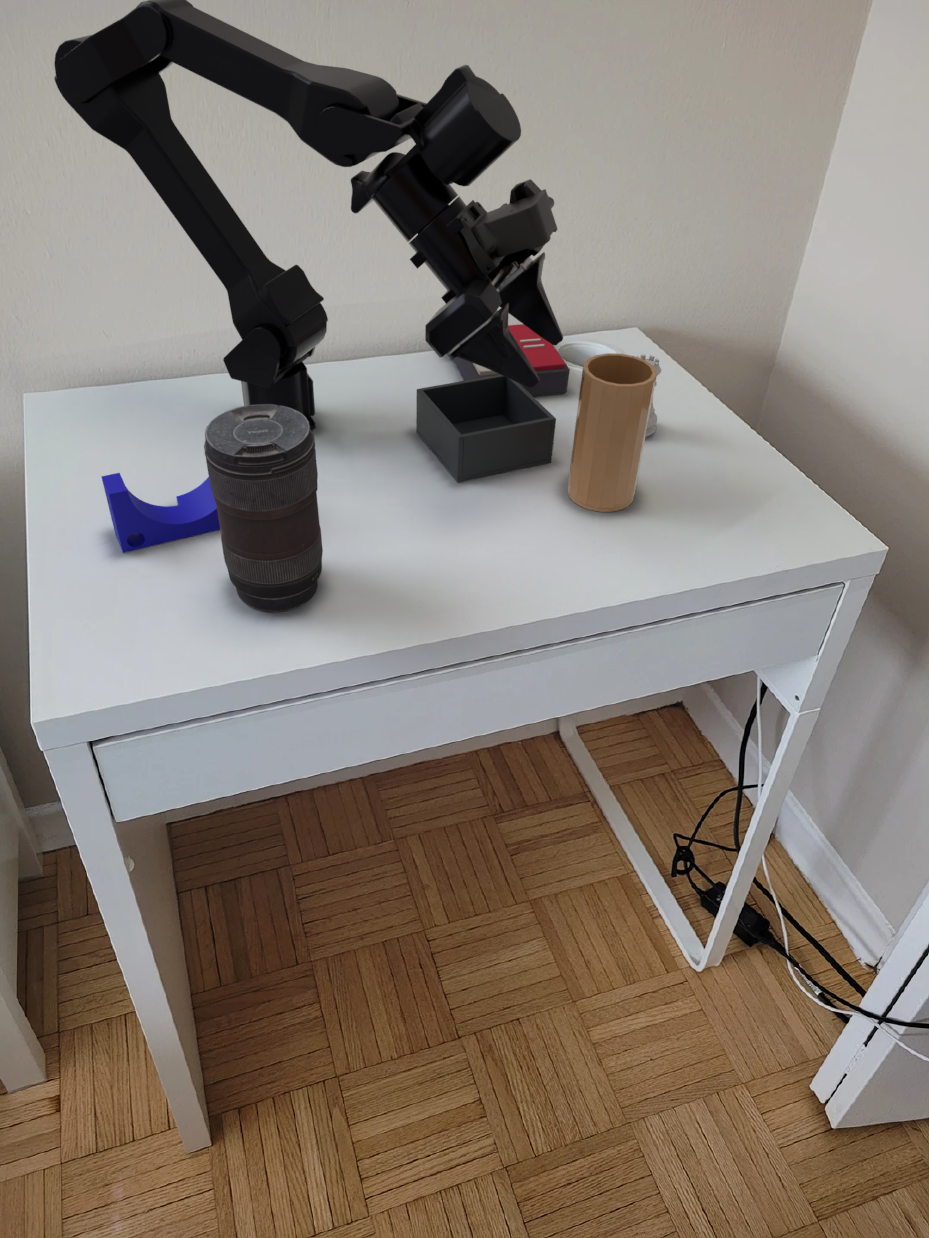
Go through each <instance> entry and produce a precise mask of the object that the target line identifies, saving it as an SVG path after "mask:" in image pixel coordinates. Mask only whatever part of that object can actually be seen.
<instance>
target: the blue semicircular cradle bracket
mask: <svg viewBox="0 0 929 1238" xmlns="http://www.w3.org/2000/svg"><path fill="white" fill-rule="evenodd" d="M101 482H102V485H103V489H104V494H105V497H106V502H107V507H108V510H109V514H110V518H111V522H112V526H113V530H114V534H115V536H116V539H117V542H118V544H119V547H120V550H121V551H122V554H125V553H129V552H133V551H137V550H141V549H146V548H150V547H153V546H157V545H162V544H166V543H171V542H174V541H178V540H182V539H187V538H192V537H195V536H201V535H203V534H206V533H212V532H215V531H220V525H219V519H218V512H217V506H216V502H215V499H214V496H213V493H212V490H211V486H210V480H209V476H208V477H207V478H206V479H205V480H204V481H203V482H202V483H200V485H198V486H197V487H195V488H194V489H192V490H190V491H188V492H186V493H183V494H180V495H176V496H175V498H176V504H177V505H168V506H166V505H156V504H153V503H150V502H146V501H144V500H142V499H140V498H138V497H137V496H135V495H134V494H133V493H132V492H131V491H130V490H129V488H128V487H127V486H126V484H125V482H124V479H123V476H122V475H121V473H120V472H116V473H111V474H107V475H102V476H101Z"/></svg>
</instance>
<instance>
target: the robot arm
mask: <svg viewBox="0 0 929 1238" xmlns="http://www.w3.org/2000/svg"><path fill="white" fill-rule="evenodd" d="M173 64H175V65H177V66H179V67H181V68H183V69H185V70H188V71H189V72H191V73H193V74H195V75H197V76H199V77H201V78H204V79H205V80H207V81H209V82H212V83H214V84H216V85H217V86H219V87H221V88H223V89H226V90H227V91H229V92H231V93H234V94H236V95H237V96H240V97H242V98H244V99H246V100H248V101H249V102H252V103H253V104H256V105H257V106H260V107H262V108H264V109H265V110H268V111H270V112H272V113H274V114H275V115H277V116H278V117H280V118H281V119H282V120H284V121H285V122H287V123H288V125H289V126H290V127H291V129H292V130H293V131H294V133H295V134H296V136H297V137H298V138H299V140H300V141H301V142H303V143H304V144H305V145H307V146H308V147H309V148H310V149H312V150H313V151H315V152H316V153H318V154H319V155H321V156H322V157H323V158H325V160H327V161H329V162H331V163H332V164H333V165H335V166H338V167H342V168H352V167H354V166H355V167H356V166H358V165H359V164H361V163H363V162H365V161H367V160H369V159H370V158H372V157H374V156H376V155H378V154H380V153H386V152H388V151H390V150H392V149H394V148H396V147H397V146H399V145H401V144H403V143H405V142H407V141H409V140H410V139H411V140H413V143H414V145H413V146H412V147H411V148H410V149H409V150H408V152H406V154H404V153H402V152H397V151H393V152H389V153H388V154H387V155H386V156H385V157H384V158H383V159H382V160H381V161H380V162H379V163H378V164H377V165H376V166H375V167H374V168H373V170H371V171H366V170H360V171H358V173H356V174H355V175H354V176H352V177H351V178H350V185H351V199H350V211H351V212H352V213H353V214H359V213H360V212H361V211H363V210H364V208H366V207H367V206H368V205H370V204H371V203H372V202H374V203H375V204H376V206H377V207H378V208H379V209H380V211H382V213H383V214H384V215H385V216H386V218H387V219H388V220H389V222H391V224H392V226H394V227H395V229H396V230H397V231H398V233H400V235H401V236H402V237H403V238H404V240H405V241H406V242H407V243H408V245H409V246H410V247H411V248H412V250H413V251H414V252H415V254H414V255H412V256H411V258H409V260H410V262H411V263H412V264H413V265H414V267H415V268H416V270H418V269H419V268H420V267H421V266H422V265H423V264H425V265H426V266H427V268H428V269H429V270H430V271H431V273H432V274H433V275H434V277H435V278H436V279H437V280H438V282H440V284H441V286H443V287H444V289H445V290H446V291H445V293H444V294H443V295H442V296H441V297H440V298H441V300H442V301H443V302H444V303H445V304H444V305H442V307H440V308H439V309H438V310H437V311H436V313H435V314H434V315H433V316H432V317H431V318H430V320H429V321H428V322H427V323H426V324H425V325H424V326H425V329H424V330H425V333H424V334H425V337H424V340H425V342H426V343H427V344H428V345H429V347H430V348H431V349H432V350H433V352H434V353H435V354H436V355H437V356H438V357H439V358H443V357H445V355H446V354H447V353H448V352H449V351H450V350H451V349H453V350H452V351H451V352H450V354H449V356H450V357H451V358H450V357H449V356H448V357H449V358H450V359H452V360H453V359H454V358H456V357H459V358H461V359H464V360H467V361H469V362H472V363H474V364H477V365H480V366H482V367H485V368H487V369H489V370H492V371H494V372H496V373H498V374H501V375H503V376H505V377H507V378H509V379H511V380H514V381H516V382H518V383H520V384H522V385H524V386H527V387H529V388H532V387H533V386H535V385H536V384H538V382H539V377H538V375H537V374H536V372H535V370H534V368H533V367H532V365H531V363H530V362H529V360H528V359H527V357H526V355H525V354H524V352H523V351H522V349H521V348H520V346H519V344H518V343H517V341H516V340H515V338H514V337H513V335H512V333H511V332H510V330H509V328H508V314H510V315H512V316H513V317H514V318H516V319H517V320H519V321H520V322H521V323H523V324H524V325H525V326H527V327H528V328H529V329H531V330H532V331H533V332H535V333H536V334H538V335H539V336H540V337H542V338H543V339H545V340H546V341H548V342H549V343H551V344H552V345H553V346H557V345H558V344H559V343H561V342H562V341H563V340H564V335H563V332H562V330H561V328H560V326H559V323H558V320H557V318H556V315H555V313H554V310H553V308H552V306H551V303H550V301H549V298H548V296H547V293H546V290H545V288H544V285H543V281H542V275H543V270H544V269H543V268H544V261H545V259H546V253H545V251H542V250H543V248H544V246H545V245H546V244H548V243H549V242H550V240H551V236H552V235H553V233H557V231H558V225H557V223H556V219H555V217H554V213H553V210H552V209H553V207H554V205H555V200H554V198H553V197H551V196H549V195H548V192H547V190H546V188H545V189H541V188H540V187H539V186H538V185H537V183H535V182H534V181H533V180H532V178H530V179H527V180H524V181H522V182H519V183H516V184H515V185H514V187H512V188H511V189H510V194H509V203H506V202H505V203H503V204H502V205H501V206H500V207H498V208H495V209H492V210H490V211H487V210H486V209H485V208H484V207H483V205H482V203H480V202H479V201H475V200H474V199H472V200H471V201H470V202H469V203H468V204H466V203H465V201H464V200H463V199H462V198H461V196H459V194H458V193H457V191H456V190H455V189H454V188H453V186H452V184H456V185H457V186H460V187H469V186H471V185H472V184H473V183H474V182H475V181H476V180H477V179H478V178H479V177H480V176H481V175H482V174H484V173H485V171H487V170H488V169H489V168H490V167H491V166H492V165H493V164H494V163H495V162H496V161H497V160H499V159H500V157H501V156H503V155H504V154H505V153H506V152H507V151H508V150H509V149H510V148H511V147H512V146H514V144H516V142H518V141H519V140H520V138H521V136H522V126H521V123H520V120H519V117H518V115H517V112H516V110H515V108H514V107H513V106H512V103H510V100H509V99H508V98H507V97H506V95H505V94H504V93H502V92H501V93H500V92H499V91H498V89H496V88H495V87H494V86H493V85H492V84H491V83H489V82H488V81H486V80H485V79H483V78H481V77H479V76H477V75H476V74H475V73H474V71H473V70H472V68H471V66H469V65H468V64H463V65H460V66H459V67H456V68H454V70H453V71H452V72H451V73H450V74H449V75H448V76H447V77H446V79H445V80H444V82H443V83H442V86H441V87H440V88H439V90H438V91H437V92H436V93H435V94H434V95H433V97H432V98H431V99H429V100H428V102H423V101H421V100H417V99H414V98H412V97H407V96H405V95H402V94H398V93H397V90H396V89H395V87H393V85H392V84H391V83H390V82H388V81H387V80H385V79H384V78H382V77H380V76H377V75H373V74H371V73H366V72H362V71H358V70H355V69H350V68H347V67H341V66H331V65H324V64H323V65H321V64H317V63H314V62H313V63H312V62H308V61H305V60H302V59H301V58H298V57H297V56H294V55H293V54H291V53H288V52H286V51H284V50H282V49H281V48H278V47H277V46H274V45H272V44H270V43H268V42H267V41H264V40H262V39H260V38H257V37H256V36H254V35H251V34H249V33H247V32H245V31H243V30H241V29H240V28H238V27H235V26H233V25H232V24H230V23H227V22H225V21H223V20H221V19H219V18H217V17H215V16H213V15H212V14H209V13H207V12H205V11H202V10H201V9H200V8H199V9H198V8H196V7H194V5H193V4H192V3H190V2H189V1H188V0H143V1H140V3H139V4H138V5H137V6H136V7H134V8H133V9H132V10H130V12H129V13H127V14H126V15H124V16H123V17H121V18H120V19H118V20H116V21H114V22H113V23H111V24H109V25H107V26H105V27H104V28H102V29H99V31H97V32H95V33H93V34H90V35H85V36H81V37H75V38H72V39H68V40H64V41H63V42H62V43H61V44H60V45H58V47H57V50H56V52H55V54H54V65H53V66H54V71H55V76H54V77H53V78H54V82H55V85H56V88H57V90H58V91H59V93H60V94H61V96H62V98H63V100H65V102H66V103H67V104H68V105H69V106H70V107H71V109H73V111H75V113H76V114H78V116H79V117H80V118H81V119H82V120H83V122H84V123H85V124H86V125H87V126H88V127H89V128H90V129H91V130H92V131H93V132H95V133H97V134H98V135H100V136H102V137H103V138H105V139H107V140H108V141H110V142H112V143H113V144H114V145H116V146H118V147H119V148H121V149H122V150H124V151H126V152H127V154H128V155H129V156H130V157H131V159H132V160H133V162H134V163H135V164H136V166H137V168H139V170H140V171H141V172H142V174H143V175H144V177H145V178H146V179H147V181H148V182H149V183H150V185H151V186H152V188H153V189H154V191H155V192H156V193H157V195H158V196H159V197H160V199H161V200H162V202H163V204H164V205H165V206H166V207H167V209H168V210H169V212H170V213H171V214H172V215H173V217H174V218H175V220H176V221H177V222H178V224H179V225H180V227H181V228H182V229H183V231H184V233H185V234H186V236H187V237H188V238H189V239H190V241H191V242H192V243H193V245H194V246H195V247H196V249H197V250H198V252H199V253H200V255H201V256H202V257H203V259H204V260H205V262H206V263H207V264H208V266H209V267H210V268H211V270H212V271H213V273H214V274H215V275H216V277H217V278H218V280H219V281H220V283H222V285H223V287H224V288H225V290H226V292H227V297H228V303H229V308H230V314H231V320H232V324H233V326H234V328H235V329H236V332H237V333H238V335H239V337H240V339H241V341H239V342H238V343H237V344H236V346H234V347H233V348H232V349H231V350H230V351H229V352H228V353H227V354H226V355H225V356H224V357H223V359H222V361H223V363H224V365H225V368H226V370H227V372H228V374H229V378H231V380H235V381H239V382H240V386H241V392H242V401H243V406H249V405H258V404H274V405H278V406H285V407H289V408H292V409H294V410H296V411H299V412H300V413H302V414H303V415H304V416H305V417H306V418H307V420H308V422H309V424H310V429H311V431H313V430H316V429H317V423H316V422H315V419H313V417H314V416H315V415H316V406H315V391H314V380H313V379H312V377H311V376H310V375H309V373H308V368H307V366H306V364H305V363H304V361H305V360H307V359H308V358H311V357H312V356H314V353H315V351H316V350H315V349H316V346H318V345H319V344H320V343H321V342H322V341H323V340H324V339H325V336H326V334H327V329H328V327H327V326H328V321H329V318H328V314H327V312H326V310H325V308H324V306H323V304H322V302H323V301H324V300H325V298H324V297H323V296H322V295H321V294H320V293H319V292H317V290H315V288H314V287H313V286H312V284H311V282H310V281H309V279H308V276H307V275H306V273H305V271H304V270H303V268H302V267H300V266H299V264H294V265H292V266H291V267H289V268H288V269H284V268H283V267H281V266H279V265H277V264H276V263H274V262H273V261H271V260H270V259H269V258H268V257H267V255H266V254H265V252H264V251H263V250H262V248H261V247H260V245H259V244H258V243H257V241H256V239H255V238H254V236H253V235H252V234H251V232H250V231H249V229H248V228H247V227H246V225H245V224H244V222H243V221H242V219H241V218H240V217H239V215H238V213H237V212H236V210H234V207H233V206H232V205H231V204H230V202H229V201H228V200H227V198H226V197H225V195H224V193H223V192H222V191H221V189H220V188H219V186H218V185H217V184H216V182H215V181H214V179H213V177H212V176H211V175H210V173H209V172H208V170H207V169H206V168H205V166H204V165H203V163H202V162H201V160H200V159H199V158H198V155H196V153H195V152H194V150H193V149H192V147H191V146H190V145H189V143H188V141H187V140H186V139H185V138H184V136H183V134H182V133H181V132H180V130H179V129H178V127H177V126H176V124H175V122H174V120H173V119H172V115H171V109H170V104H169V98H168V92H167V87H166V83H165V81H164V80H163V78H162V76H161V73H162V72H163V71H165V70H166V69H168V68H169V67H171V66H172V65H173ZM541 251H542V253H540V252H541ZM539 253H540V254H539ZM538 254H539V255H538ZM537 255H538V256H537ZM531 256H532V257H535V256H537V257H536V258H535V259H532V258H531Z"/></svg>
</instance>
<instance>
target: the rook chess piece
mask: <svg viewBox="0 0 929 1238" xmlns="http://www.w3.org/2000/svg"><path fill="white" fill-rule="evenodd" d="M635 357H638V358H640V359H643V360H645V361H647V362H649V363H650V364H651V365H652V366H654V368H655V370H656V372H657V376H656V378H657V377H658V376H659V375H660V374H661V373H662V368H661V366H660V359H659V358H655V355H651V354H650V355H649V357H648V358H647V355H646V354H640V356H639V355H636V356H635ZM657 384H658V383H657V381H656V382H655V387H656V386H657ZM655 410H656V409H655V408H654V397H653V398H652V403H651V409H650V414H649V419H648V425H647V430H646V436H645V439H646V438H649V437H650V436H652V435H653V434H654V433H655V432H656V431H657V425H656V424H657V423H658V416H657V414H656V413H655Z"/></svg>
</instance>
